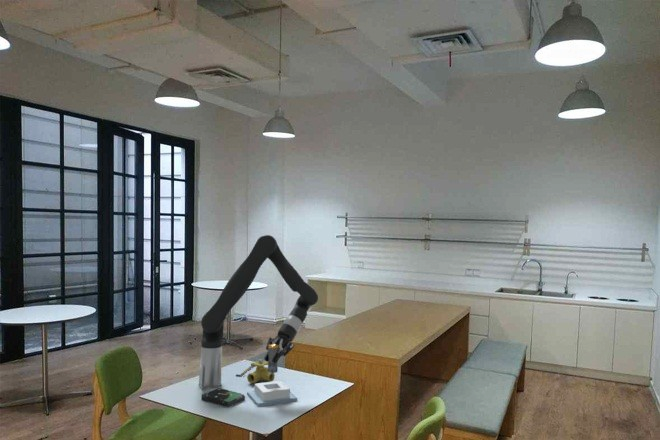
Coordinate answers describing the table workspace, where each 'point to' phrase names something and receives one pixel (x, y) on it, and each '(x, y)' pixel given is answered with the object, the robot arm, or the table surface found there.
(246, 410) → the table surface
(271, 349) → the gold topped tube
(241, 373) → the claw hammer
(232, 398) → the disk drive
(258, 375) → the ball valve
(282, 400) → the socket mount
